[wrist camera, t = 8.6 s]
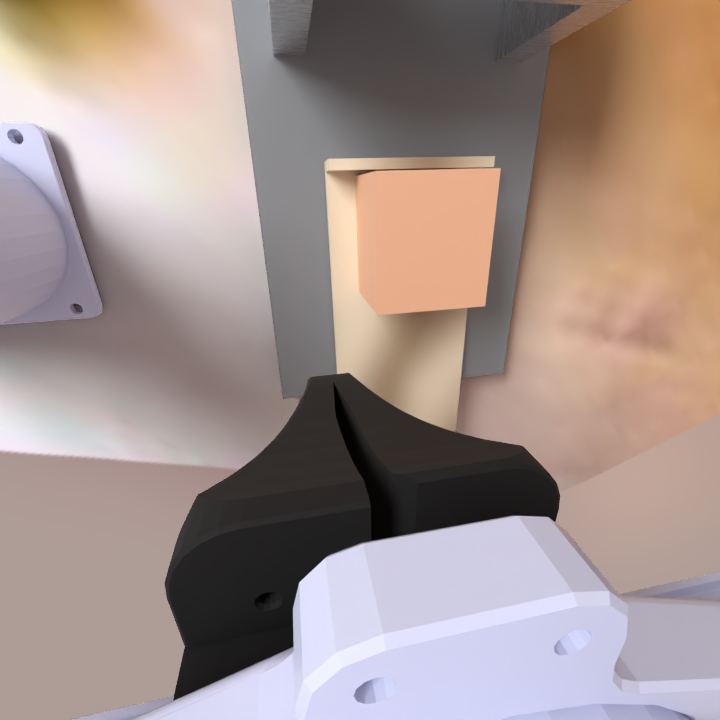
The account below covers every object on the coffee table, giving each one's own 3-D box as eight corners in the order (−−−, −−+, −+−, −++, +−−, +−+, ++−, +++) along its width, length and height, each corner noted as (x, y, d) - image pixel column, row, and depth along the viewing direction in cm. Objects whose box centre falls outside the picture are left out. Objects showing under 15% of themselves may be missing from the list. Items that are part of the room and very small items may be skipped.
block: (358, 291, 18) (377, 315, 14) (355, 176, 16) (375, 170, 12) (446, 285, 19) (485, 306, 15) (454, 174, 17) (500, 168, 13)
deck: (283, 385, 22) (283, 398, 20) (183, -390, 11) (169, -478, 10) (489, 362, 24) (503, 373, 22) (575, -310, 13) (611, -373, 12)
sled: (341, 456, 22) (354, 513, 18) (324, 162, 16) (337, 150, 12) (451, 440, 23) (486, 491, 19) (476, 159, 17) (535, 148, 13)
